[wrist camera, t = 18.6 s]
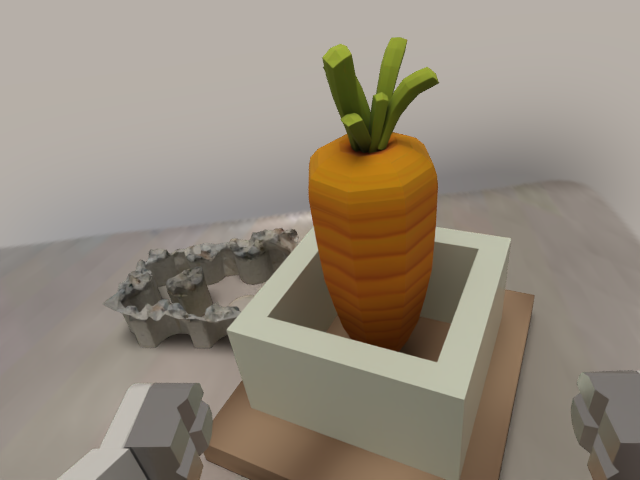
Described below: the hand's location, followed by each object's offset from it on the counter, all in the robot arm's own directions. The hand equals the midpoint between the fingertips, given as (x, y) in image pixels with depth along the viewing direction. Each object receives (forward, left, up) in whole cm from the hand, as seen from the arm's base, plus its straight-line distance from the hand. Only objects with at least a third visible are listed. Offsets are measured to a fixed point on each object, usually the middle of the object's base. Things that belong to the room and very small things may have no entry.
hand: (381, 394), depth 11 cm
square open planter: (-4, +9, -10) cm, 13 cm away
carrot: (-4, +9, -10) cm, 14 cm away
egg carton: (-15, +10, -12) cm, 22 cm away
